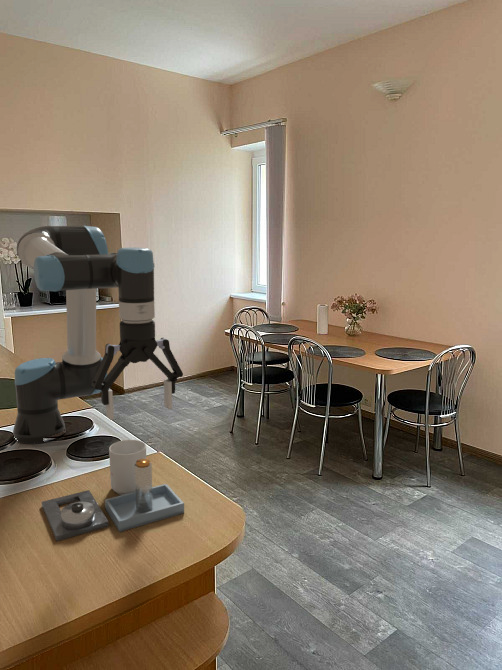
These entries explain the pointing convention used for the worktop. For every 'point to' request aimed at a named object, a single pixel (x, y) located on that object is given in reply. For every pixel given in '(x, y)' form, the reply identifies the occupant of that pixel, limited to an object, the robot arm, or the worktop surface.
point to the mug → (125, 464)
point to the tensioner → (74, 515)
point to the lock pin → (143, 485)
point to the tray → (163, 507)
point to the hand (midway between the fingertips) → (140, 412)
